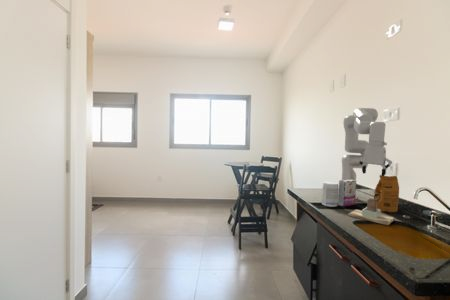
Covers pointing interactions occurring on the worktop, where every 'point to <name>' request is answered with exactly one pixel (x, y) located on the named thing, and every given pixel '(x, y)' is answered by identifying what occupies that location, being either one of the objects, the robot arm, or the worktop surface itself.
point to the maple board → (381, 219)
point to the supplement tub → (330, 194)
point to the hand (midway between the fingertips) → (373, 174)
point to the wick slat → (371, 204)
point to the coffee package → (387, 194)
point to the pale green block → (371, 213)
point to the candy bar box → (347, 192)
